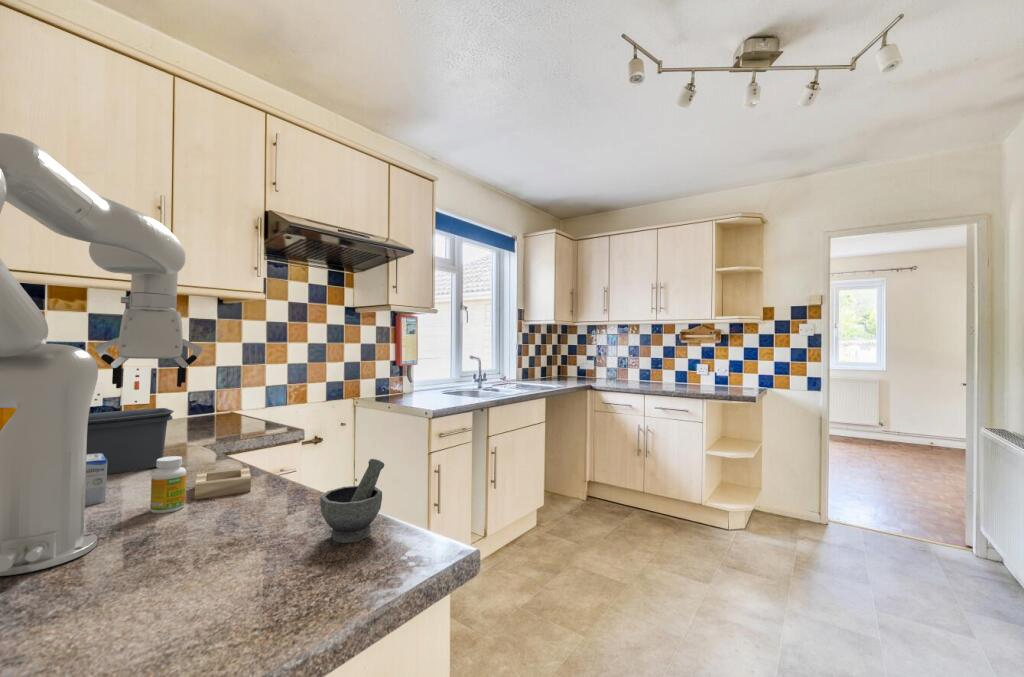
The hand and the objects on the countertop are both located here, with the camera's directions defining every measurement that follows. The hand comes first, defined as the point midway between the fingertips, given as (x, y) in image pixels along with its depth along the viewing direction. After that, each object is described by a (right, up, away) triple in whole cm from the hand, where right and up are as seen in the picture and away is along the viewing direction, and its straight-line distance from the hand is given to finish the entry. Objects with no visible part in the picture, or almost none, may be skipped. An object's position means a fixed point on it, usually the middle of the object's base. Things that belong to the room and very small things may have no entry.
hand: (150, 387), depth 93 cm
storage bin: (-25, -23, +21) cm, 40 cm away
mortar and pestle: (+48, -24, -16) cm, 55 cm away
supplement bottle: (+8, -23, -5) cm, 25 cm away
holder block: (+11, -23, +7) cm, 27 cm away
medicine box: (-11, -23, -1) cm, 26 cm away
